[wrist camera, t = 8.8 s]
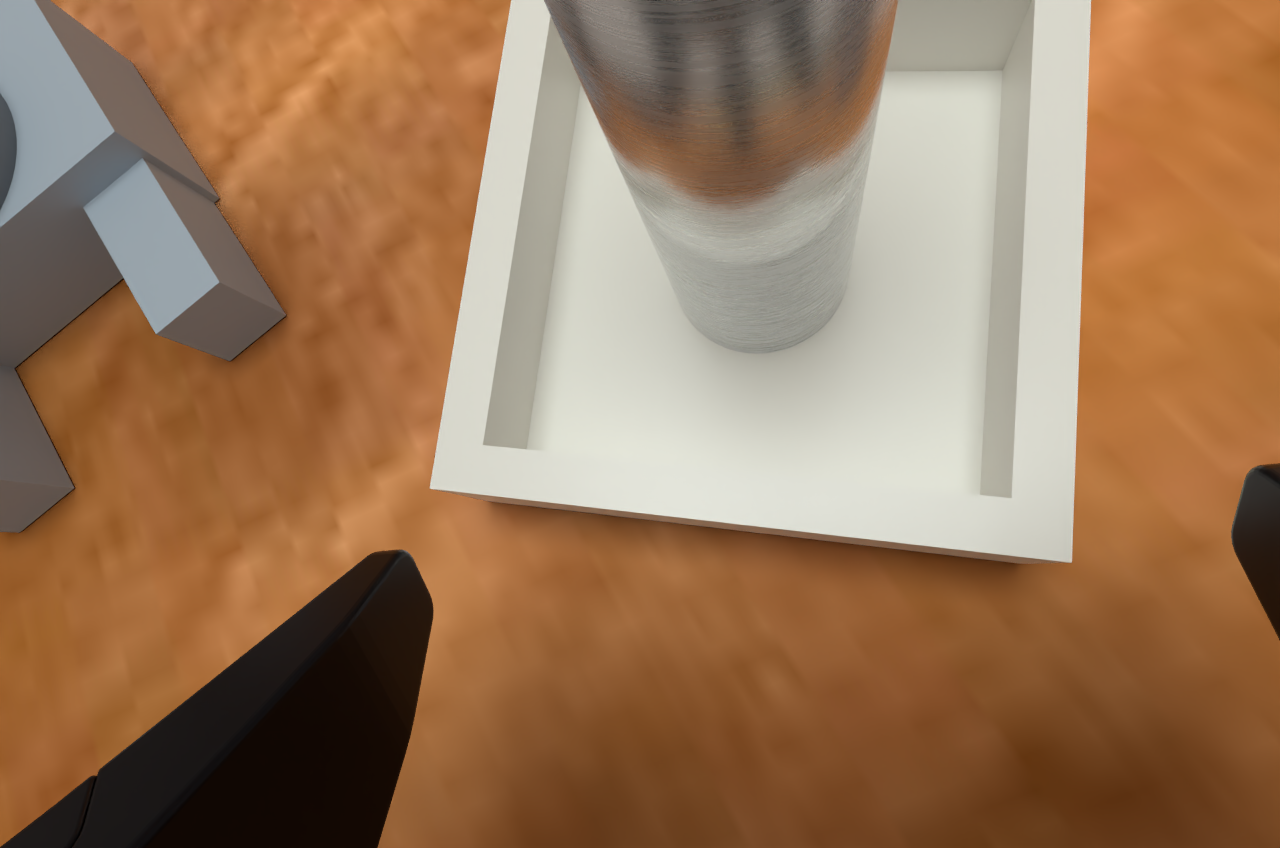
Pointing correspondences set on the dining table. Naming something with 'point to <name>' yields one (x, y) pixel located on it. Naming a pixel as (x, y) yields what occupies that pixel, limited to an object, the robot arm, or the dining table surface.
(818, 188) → the pin
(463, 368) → the tray
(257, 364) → the dining table surface
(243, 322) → the tensioner block
